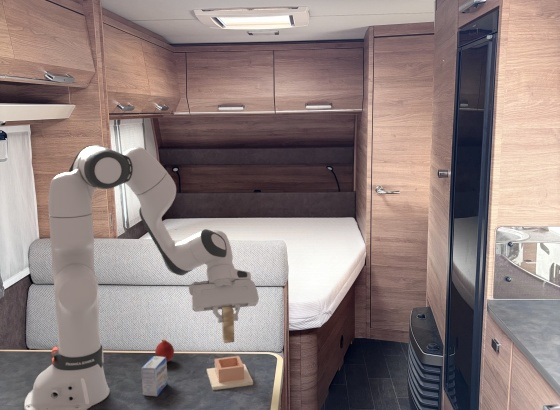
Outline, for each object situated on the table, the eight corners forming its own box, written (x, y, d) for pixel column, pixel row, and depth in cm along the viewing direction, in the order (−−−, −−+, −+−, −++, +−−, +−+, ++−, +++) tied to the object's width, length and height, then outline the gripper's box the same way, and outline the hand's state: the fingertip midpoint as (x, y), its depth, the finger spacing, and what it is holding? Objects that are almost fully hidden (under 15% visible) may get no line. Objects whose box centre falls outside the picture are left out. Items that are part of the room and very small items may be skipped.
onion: (167, 356, 186) (166, 334, 185) (177, 362, 182) (177, 339, 181) (152, 362, 182) (151, 339, 181) (162, 368, 178) (161, 344, 177)
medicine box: (157, 397, 161) (155, 368, 159) (142, 395, 162) (140, 367, 160) (167, 383, 168) (166, 356, 167) (153, 382, 169) (152, 355, 168)
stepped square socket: (212, 390, 164) (212, 374, 164) (206, 371, 176) (206, 356, 175) (253, 384, 168) (252, 368, 167) (244, 366, 179) (244, 352, 178)
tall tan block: (224, 343, 168) (223, 311, 166) (222, 339, 171) (221, 307, 169) (234, 341, 169) (233, 310, 167) (232, 338, 171) (231, 306, 170)
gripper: (188, 277, 170) (193, 320, 163) (255, 272, 176) (263, 313, 168) (187, 287, 175) (192, 329, 168) (252, 281, 181) (259, 321, 173)
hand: (228, 321), depth 168 cm, fingers closed on tall tan block, 3 cm apart
